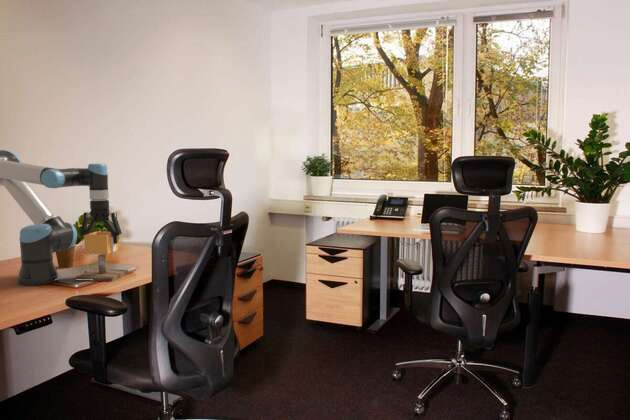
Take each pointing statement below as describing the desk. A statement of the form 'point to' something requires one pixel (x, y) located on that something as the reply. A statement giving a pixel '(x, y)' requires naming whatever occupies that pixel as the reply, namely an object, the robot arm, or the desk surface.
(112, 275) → the keeper
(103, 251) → the open cardboard box
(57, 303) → the desk surface
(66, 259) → the disposable coffee cup
